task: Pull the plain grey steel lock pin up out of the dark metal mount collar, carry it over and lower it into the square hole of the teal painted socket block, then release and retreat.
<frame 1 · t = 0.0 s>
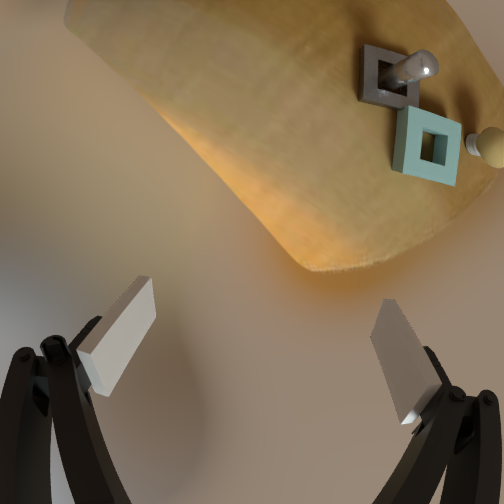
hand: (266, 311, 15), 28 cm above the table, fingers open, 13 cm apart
pin: (404, 72, 26), in the mount
mount: (386, 80, 32), on the table
socket: (422, 145, 35), on the table
light bulb: (470, 143, 33), on the table
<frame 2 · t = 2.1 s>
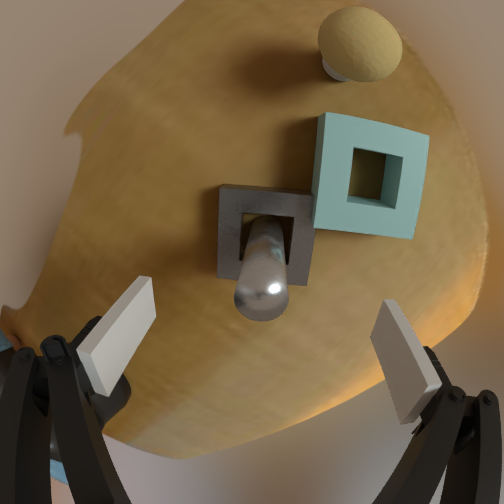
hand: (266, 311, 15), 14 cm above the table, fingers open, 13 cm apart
pin: (264, 256, 22), in the mount
mount: (266, 231, 28), on the table
socket: (362, 173, 25), on the table
egg: (17, 339, 41), on the table
light bulb: (339, 66, 21), on the table
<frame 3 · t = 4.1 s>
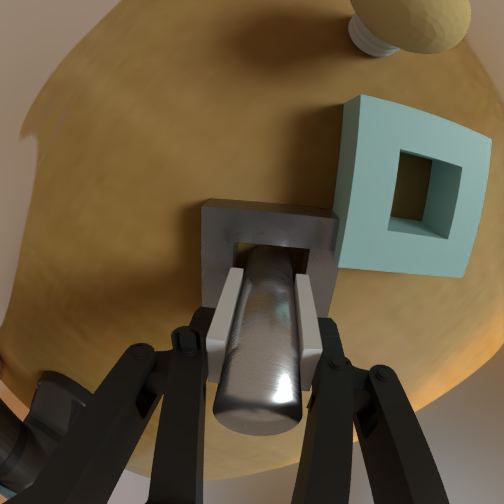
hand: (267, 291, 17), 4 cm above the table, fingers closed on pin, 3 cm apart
pin: (265, 314, 15), in the mount, touching gripper
mount: (269, 263, 21), on the table
socket: (401, 185, 17), on the table
egg: (0, 358, 34), on the table
light bulb: (370, 38, 14), on the table
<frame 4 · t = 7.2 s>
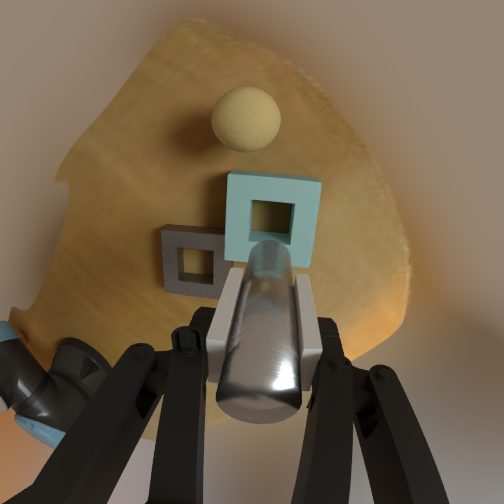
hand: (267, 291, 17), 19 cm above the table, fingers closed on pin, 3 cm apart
pin: (266, 307, 15), point 21 cm above the table, touching gripper
mount: (200, 258, 37), on the table
socket: (271, 213, 34), on the table
egg: (24, 335, 51), on the table
light bulb: (252, 124, 30), on the table
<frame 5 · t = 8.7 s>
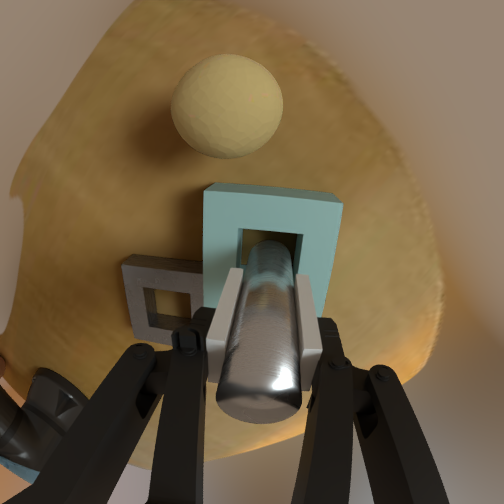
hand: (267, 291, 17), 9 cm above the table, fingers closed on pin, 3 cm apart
pin: (266, 307, 15), point 10 cm above the table, touching gripper
mount: (175, 298, 28), on the table
socket: (269, 242, 25), on the table
egg: (2, 358, 41), on the table
light bulb: (241, 116, 21), on the table
when the fingers open (6 cm above the table, at t = 10.3 s): pin stays where it is, resting in socket.
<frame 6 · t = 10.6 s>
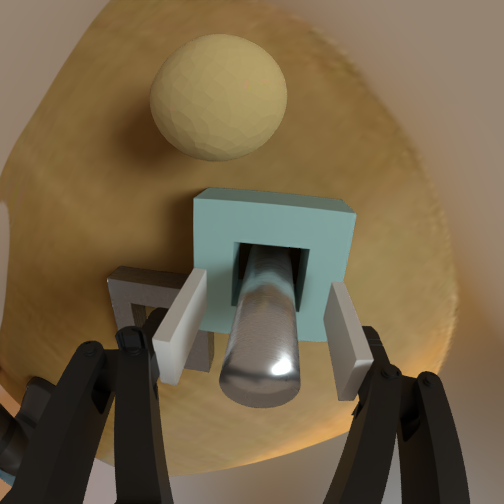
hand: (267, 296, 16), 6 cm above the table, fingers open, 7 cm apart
pin: (266, 299, 16), in the socket
mount: (167, 313, 25), on the table
socket: (270, 255, 22), on the table
light bulb: (238, 112, 18), on the table
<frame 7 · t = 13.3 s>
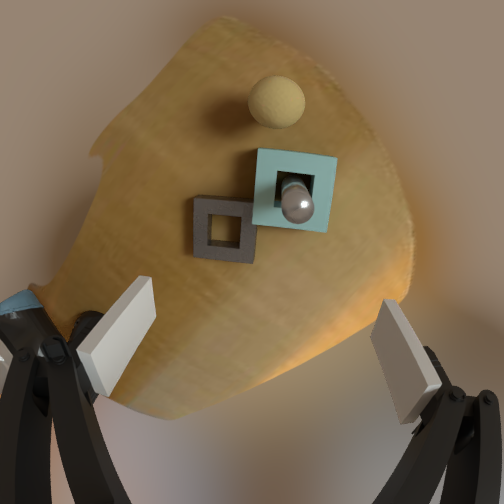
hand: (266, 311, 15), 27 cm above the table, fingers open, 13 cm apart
pin: (294, 195, 32), in the socket
mount: (227, 226, 42), on the table
socket: (292, 186, 38), on the table
light bulb: (277, 109, 34), on the table
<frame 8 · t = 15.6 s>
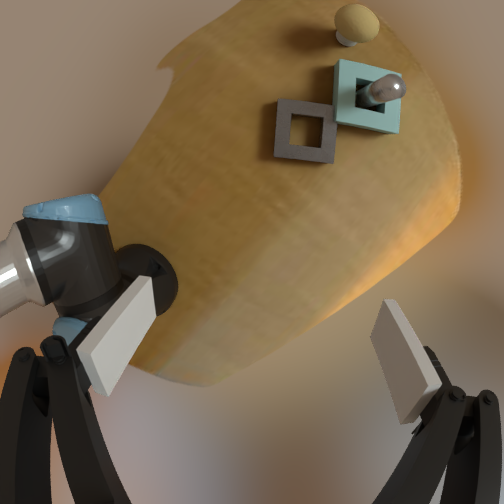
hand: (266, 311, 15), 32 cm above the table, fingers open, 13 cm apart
pin: (376, 93, 30), in the socket
mount: (304, 131, 40), on the table
socket: (362, 98, 36), on the table
light bulb: (345, 38, 33), on the table
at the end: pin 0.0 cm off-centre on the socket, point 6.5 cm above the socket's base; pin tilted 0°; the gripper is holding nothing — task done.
